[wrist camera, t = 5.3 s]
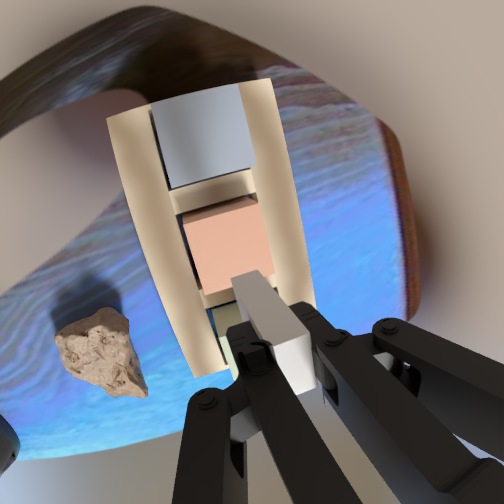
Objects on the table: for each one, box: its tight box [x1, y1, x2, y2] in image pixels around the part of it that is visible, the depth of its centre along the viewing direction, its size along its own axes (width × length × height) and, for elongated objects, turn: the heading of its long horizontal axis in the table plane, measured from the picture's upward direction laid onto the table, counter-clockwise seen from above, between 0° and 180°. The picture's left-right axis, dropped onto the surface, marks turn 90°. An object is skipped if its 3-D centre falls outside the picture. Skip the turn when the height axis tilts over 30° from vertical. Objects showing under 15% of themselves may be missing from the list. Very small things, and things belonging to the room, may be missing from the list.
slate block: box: [151, 83, 257, 188], centre depth 21 cm, size 6×6×5 cm
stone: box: [54, 307, 148, 398], centre depth 27 cm, size 9×11×5 cm
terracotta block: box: [182, 196, 275, 295], centre depth 26 cm, size 6×6×5 cm
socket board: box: [106, 78, 316, 378], centre depth 28 cm, size 14×26×3 cm, turn 14°
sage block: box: [211, 302, 243, 381], centre depth 27 cm, size 6×6×5 cm
